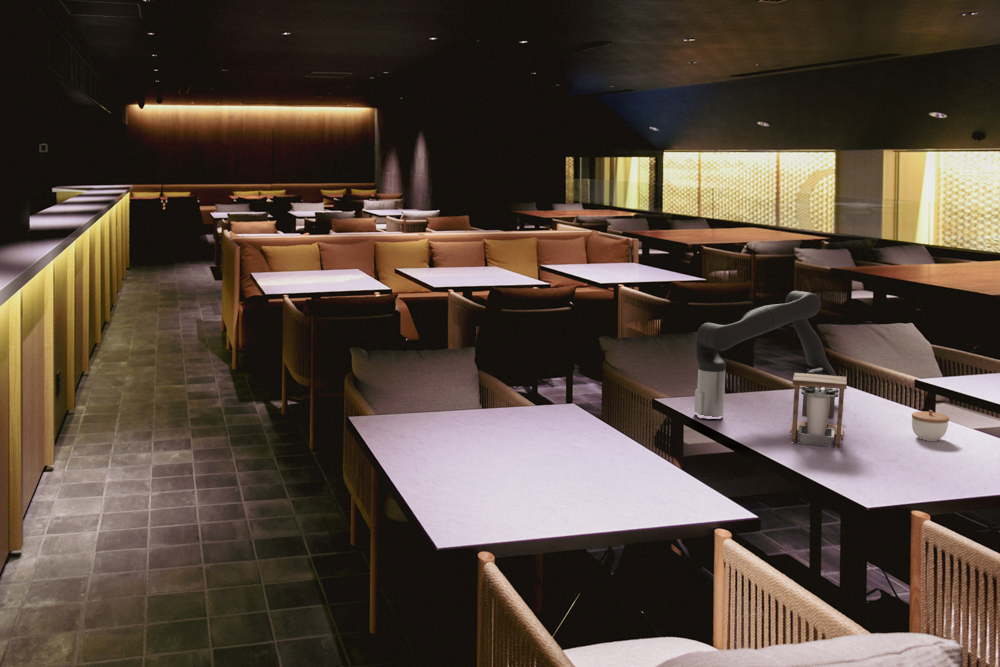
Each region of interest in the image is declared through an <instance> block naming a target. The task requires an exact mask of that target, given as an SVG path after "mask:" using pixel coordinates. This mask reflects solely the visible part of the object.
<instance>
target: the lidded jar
mask: <svg viewBox="0 0 1000 667" xmlns="http://www.w3.org/2000/svg"><path fill="white" fill-rule="evenodd" d="M949 421H950V417H949V416H948V415H947V414H943V413H940V412H935V411H934V410H931V409H929V410H928V411H924V410H923V411H921V410H920V411H914V412H912V413H911V428H912V431H913V433H914V434H915V435H916V436H917V438H918V439H919V438H920V439H919V440H921V439H923V440H922V441H925V440H927V441H926V442H938V441H939V440H940V439H941V438H943V437H944V436H945V434H946V433H947V430H948V427H949ZM937 440H938V441H937Z"/></svg>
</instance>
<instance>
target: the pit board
mask: <svg viewBox="0 0 1000 667" xmlns="http://www.w3.org/2000/svg"><path fill="white" fill-rule="evenodd" d="M799 425H801V426H807V421H801V420H797V434H798V431H799ZM826 428H832V429H834V439H835V438H836V430H837V424H834V423H833V424H831V423H827V426H826ZM789 430H790V433H792V423H791V425H790V429H789ZM843 430H844V426H843V424H842V427H841V440H844V439H843V438H844V437H843V435H844V434H843V433H844V431H843ZM790 433H789V434H790Z"/></svg>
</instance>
